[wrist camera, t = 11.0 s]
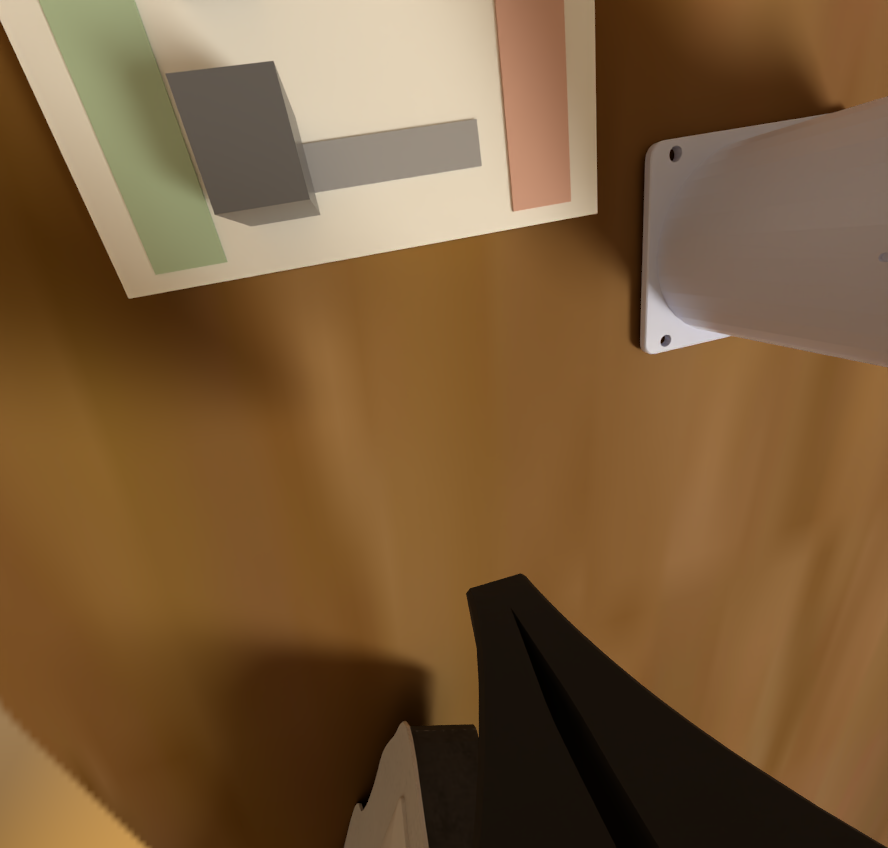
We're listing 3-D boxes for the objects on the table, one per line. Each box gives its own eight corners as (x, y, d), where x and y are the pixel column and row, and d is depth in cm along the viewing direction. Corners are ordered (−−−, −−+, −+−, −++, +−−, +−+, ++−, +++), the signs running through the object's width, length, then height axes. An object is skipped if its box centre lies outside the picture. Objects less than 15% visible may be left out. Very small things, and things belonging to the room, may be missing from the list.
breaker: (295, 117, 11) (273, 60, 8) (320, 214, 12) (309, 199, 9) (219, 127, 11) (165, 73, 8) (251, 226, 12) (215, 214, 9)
